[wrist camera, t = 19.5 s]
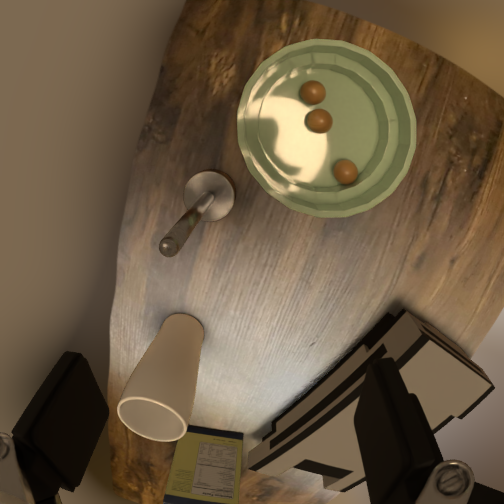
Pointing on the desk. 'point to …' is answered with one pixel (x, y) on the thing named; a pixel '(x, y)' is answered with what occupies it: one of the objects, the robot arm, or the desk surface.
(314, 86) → the bead
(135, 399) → the drinking glass
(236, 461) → the protein box
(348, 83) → the bowl
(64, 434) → the robot arm
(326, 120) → the bead
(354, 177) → the bead
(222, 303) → the desk surface
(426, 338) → the game console
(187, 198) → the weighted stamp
